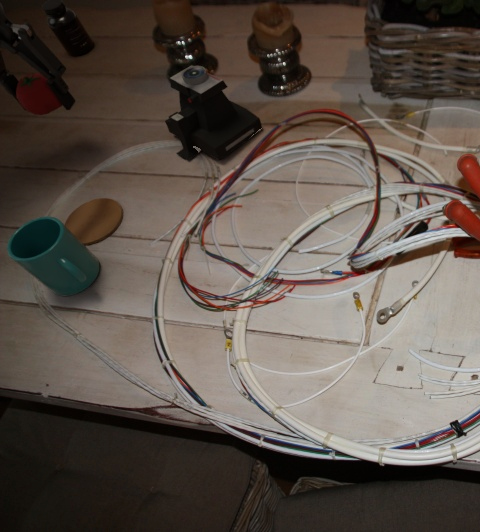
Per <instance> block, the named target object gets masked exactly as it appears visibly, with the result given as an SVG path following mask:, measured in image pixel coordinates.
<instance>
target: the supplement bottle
mask: <svg viewBox="0 0 480 532" xmlns="http://www.w3.org/2000/svg"><path fill="white" fill-rule="evenodd" d="M41 9H42V11H43V12H44V14H45V15H46V25H48V27H49V29H50V30H51V31H52V33H53V34H54V36H55V37H56V39H57V41H58V42H59V43H60V45H61V46H62V48H63V49H64V50H65V52H66V53H67V54H68V55H69V56H72V57H78V56H79V57H80V56H83V55H85V54H87V53H89V52H90V51H91V50H92V49H93V48H94V41H93V39H92V38H91V36H90V35H89V33H88V32H87V30H86V28H85V26H84V24H83V23H82V22H81V20H80V19H79V17H78V16H77V14H76V13H75V12H74V11H73V10H72V9H71V8H67V6H66V4H65V3H64V1H63V0H47V1H45V2H44V3H43V4H42V5H41Z"/></svg>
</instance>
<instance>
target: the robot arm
mask: <svg viewBox="0 0 480 532" xmlns="http://www.w3.org/2000/svg"><path fill="white" fill-rule="evenodd" d="M0 49H4V50H7V51H8V52H9V53H10V54H12V55H17V56H18V57H19V58H21V59H22V60H23V61H25V62H26V63H27V64H28V65H29V66H30V67H32V68H33V69H34V70H35V71H37V72H38V73H39V74H42V75H43V76H44V77H45V78H47V79H48V80H47V82H46V83H47V85H48V86H49V87H50V89H51V90H52V91H53V93H54V94H55V95H56V97H57V98H58V99H59V101H60V102H61V103H62V106H63V107H64V109H65V110H66V111H71V110H72V108H73V107H74V104H75V103H76V99H75V98H74V96H73V95H72V93H71V92H70V91H69V90H70V87H69V86H68V85H67V83H66V82H65V80H64V79H63V77H62V76H63V75H64V73H65V72H66V71H67V67H66V65H64V64H63V63H62V61H61V60H60V59H59V58H58V57H57V56H56V55H55V53H53V51H52V50H51V49H50V48H49V47H48V46H47V44H46V43H44V41H43V40H42V39H41V38H40V37H39V36H38V35H37V33H36V31H35V29H34V27H33V26H32V25H31V23H30V22H28V21H24V22H23V23H22V24H19V23H14V22H13V21H12V20H10V19H9V18H8V17H7V16H6V14H5V9H4V7H3V4H2V3H1V2H0ZM9 72H10V69H7V67H6V64H5V60H4V57H3V54H2V50H0V85H1V86H2V87H3V89H4V90H5V91H6V92H7V93H8V94H9V95H11V96H12V97H13V98H14V100H15V101H17V103H18V104H19V105H20V107H21V108H22V109H23V110H24V111H25V112H26V111H27V110H26V109H25V108H23V107H22V105H21V104H20V102H19V101H18V99H17V96H16V89H17V84H18V82H19V79H17V77H16V76H15V75H14V73H9ZM27 112H28V111H27Z"/></svg>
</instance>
